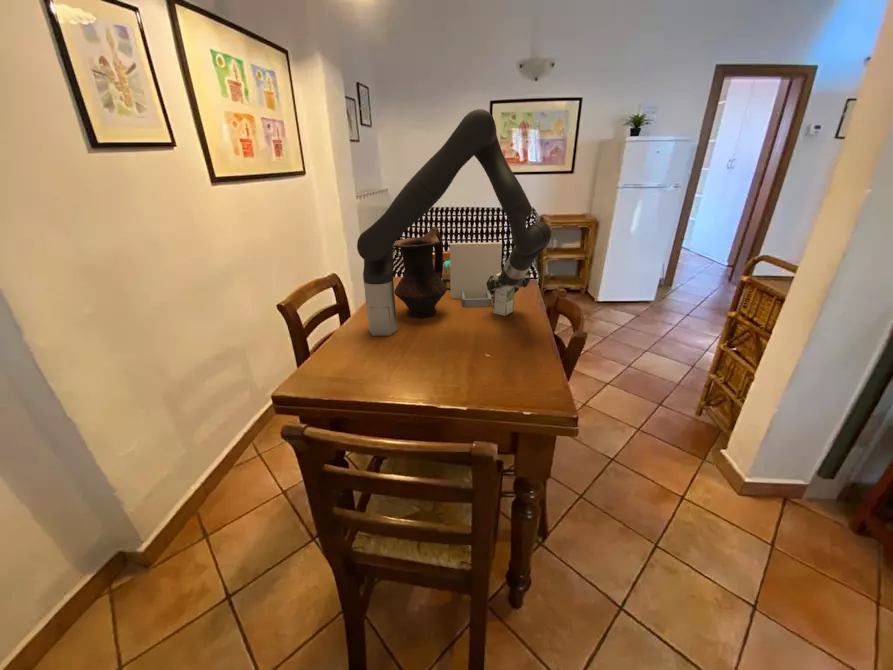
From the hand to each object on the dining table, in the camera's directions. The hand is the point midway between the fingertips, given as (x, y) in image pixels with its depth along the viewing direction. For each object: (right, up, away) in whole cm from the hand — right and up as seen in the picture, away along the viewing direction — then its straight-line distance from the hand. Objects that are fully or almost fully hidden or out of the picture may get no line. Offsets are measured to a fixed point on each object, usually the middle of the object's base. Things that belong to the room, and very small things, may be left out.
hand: (502, 291), depth 135 cm
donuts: (-17, +8, +36) cm, 40 cm away
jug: (-29, -8, +2) cm, 30 cm away
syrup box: (0, -8, +2) cm, 8 cm away
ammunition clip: (-17, +3, +27) cm, 32 cm away
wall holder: (-9, -3, +13) cm, 16 cm away
